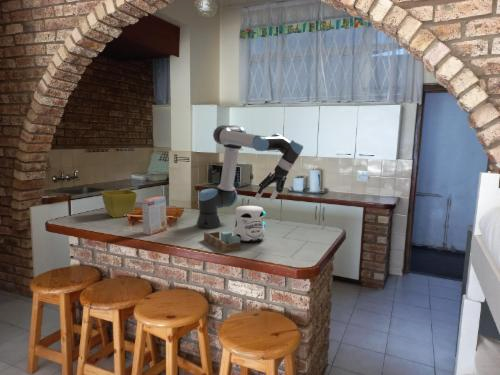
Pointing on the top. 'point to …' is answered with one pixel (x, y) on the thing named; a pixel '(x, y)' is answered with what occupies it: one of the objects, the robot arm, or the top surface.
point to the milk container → (249, 223)
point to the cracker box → (154, 215)
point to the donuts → (263, 216)
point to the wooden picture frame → (220, 242)
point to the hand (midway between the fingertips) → (263, 199)
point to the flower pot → (119, 202)
